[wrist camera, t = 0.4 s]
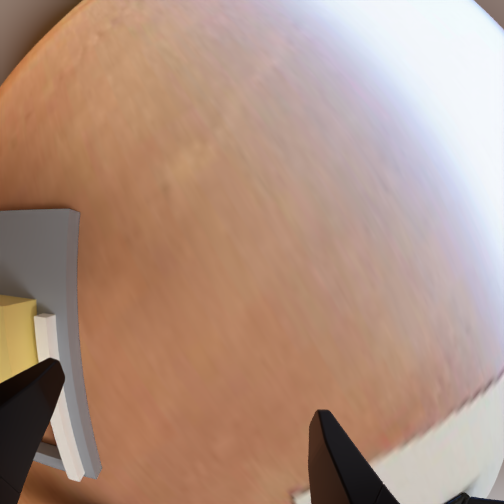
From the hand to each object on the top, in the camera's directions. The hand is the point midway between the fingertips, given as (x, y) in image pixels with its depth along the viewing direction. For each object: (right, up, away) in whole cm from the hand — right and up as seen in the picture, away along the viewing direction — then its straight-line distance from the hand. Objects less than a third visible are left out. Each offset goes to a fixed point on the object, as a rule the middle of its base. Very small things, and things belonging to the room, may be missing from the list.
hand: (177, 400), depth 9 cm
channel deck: (-17, -4, +12) cm, 21 cm away
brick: (-17, -2, +10) cm, 20 cm away
